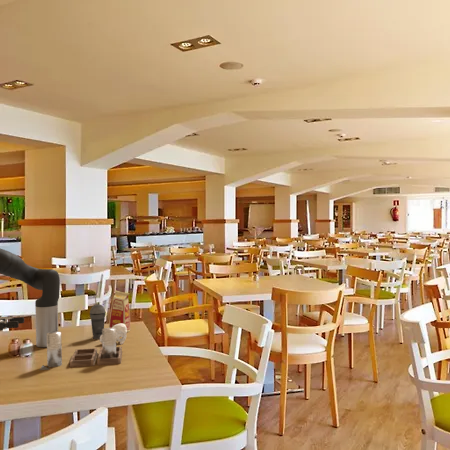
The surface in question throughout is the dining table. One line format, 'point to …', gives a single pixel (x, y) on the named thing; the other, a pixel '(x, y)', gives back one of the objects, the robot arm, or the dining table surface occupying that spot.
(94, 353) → the tray
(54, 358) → the steel billet
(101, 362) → the tray
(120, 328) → the white animal figurine
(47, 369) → the rubber mat
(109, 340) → the cylinder
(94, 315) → the beverage cup
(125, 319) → the milk carton
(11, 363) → the dining table surface
